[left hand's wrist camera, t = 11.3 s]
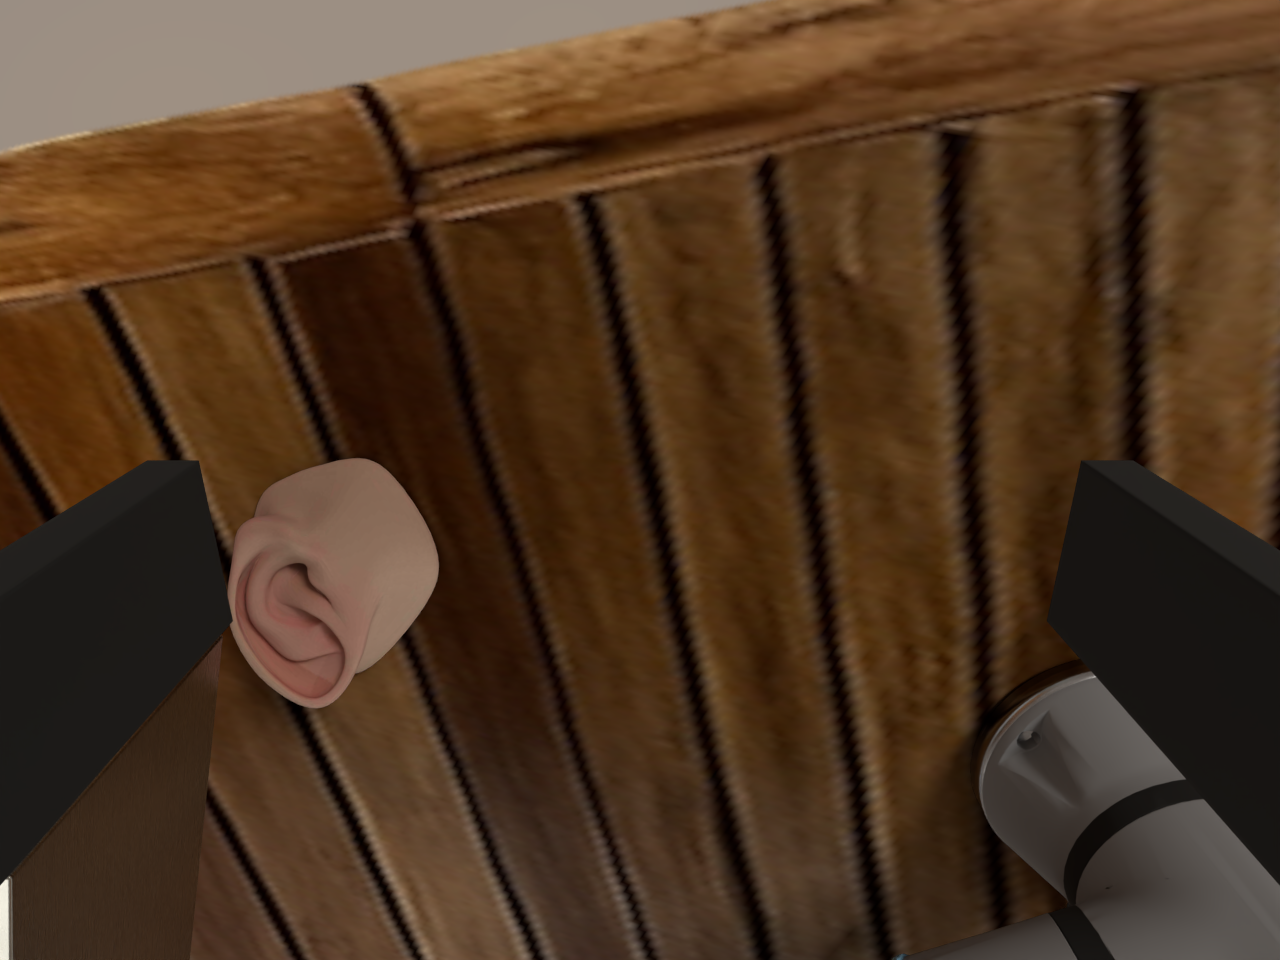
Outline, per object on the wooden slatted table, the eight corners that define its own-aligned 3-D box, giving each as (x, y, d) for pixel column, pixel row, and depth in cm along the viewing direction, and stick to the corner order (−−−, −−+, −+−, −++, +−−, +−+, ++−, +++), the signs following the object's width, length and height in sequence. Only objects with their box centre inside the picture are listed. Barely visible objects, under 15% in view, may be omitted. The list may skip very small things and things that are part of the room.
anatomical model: (307, 446, 40) (477, 598, 43) (335, 421, 43) (490, 563, 46) (146, 604, 43) (315, 735, 46) (185, 569, 47) (339, 692, 50)
